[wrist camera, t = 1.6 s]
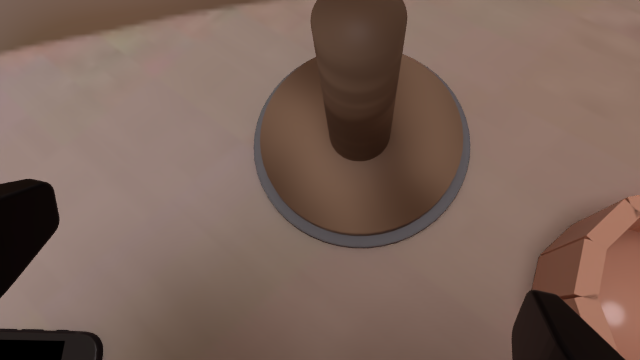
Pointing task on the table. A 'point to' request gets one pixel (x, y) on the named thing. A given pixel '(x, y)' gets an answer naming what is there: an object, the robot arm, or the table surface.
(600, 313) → the bowl
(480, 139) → the table surface
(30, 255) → the robot arm
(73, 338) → the smartphone
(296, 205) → the post with round base
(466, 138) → the mat
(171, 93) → the table surface
